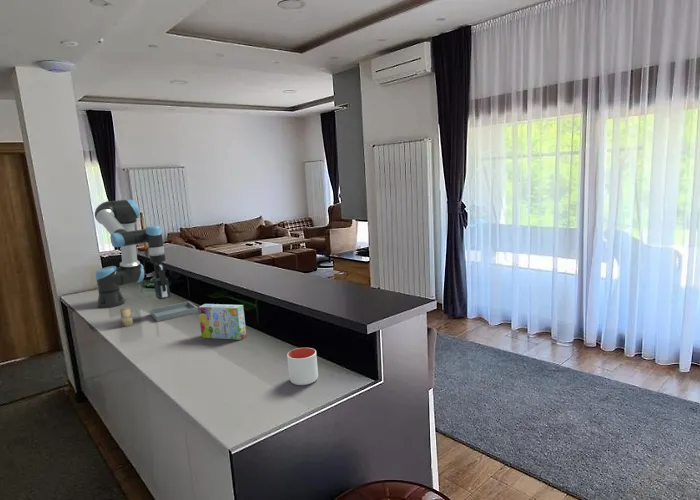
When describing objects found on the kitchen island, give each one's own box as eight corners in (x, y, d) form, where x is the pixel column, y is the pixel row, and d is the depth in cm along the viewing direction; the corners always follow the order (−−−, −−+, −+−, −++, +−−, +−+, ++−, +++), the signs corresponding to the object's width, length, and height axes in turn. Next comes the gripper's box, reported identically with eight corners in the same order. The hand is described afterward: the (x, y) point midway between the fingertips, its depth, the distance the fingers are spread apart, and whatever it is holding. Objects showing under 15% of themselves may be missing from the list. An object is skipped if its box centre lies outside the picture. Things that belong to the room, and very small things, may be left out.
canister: (122, 325, 234) (119, 308, 233) (132, 323, 237) (129, 306, 236) (123, 327, 230) (120, 310, 229) (134, 325, 233) (131, 308, 231)
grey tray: (150, 314, 250) (149, 309, 250) (189, 306, 262) (189, 301, 262) (157, 322, 236) (156, 316, 235) (198, 312, 248) (197, 307, 247)
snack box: (247, 336, 205) (243, 304, 202) (240, 340, 199) (236, 308, 197) (208, 333, 212) (204, 303, 209) (201, 338, 206) (196, 306, 204)
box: (170, 297, 243) (168, 278, 242) (160, 300, 240) (157, 280, 238) (166, 295, 249) (163, 276, 248) (155, 297, 246) (153, 278, 244)
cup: (290, 375, 161) (287, 348, 159) (318, 372, 161) (316, 346, 160) (289, 388, 151) (286, 360, 149) (318, 385, 152) (316, 357, 150)
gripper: (145, 253, 247) (151, 293, 251) (153, 257, 230) (160, 300, 234) (160, 251, 251) (165, 290, 255) (169, 255, 234) (175, 297, 238)
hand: (163, 295), depth 244 cm, fingers closed on box, 8 cm apart
